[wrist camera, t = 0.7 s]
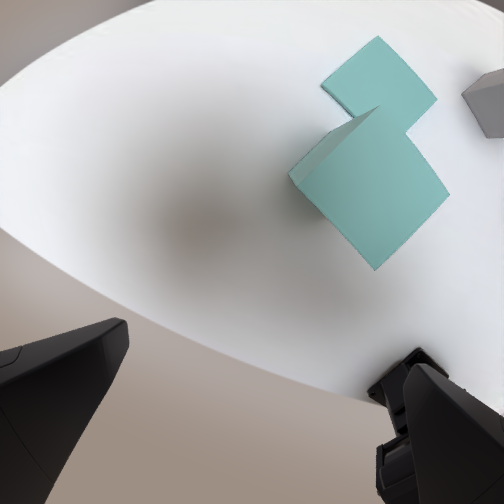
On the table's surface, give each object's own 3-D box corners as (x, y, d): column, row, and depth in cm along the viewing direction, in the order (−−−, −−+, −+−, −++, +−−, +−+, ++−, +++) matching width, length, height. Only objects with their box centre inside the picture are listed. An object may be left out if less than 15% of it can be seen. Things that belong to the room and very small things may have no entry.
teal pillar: (371, 175, 18) (449, 194, 8) (330, 216, 19) (374, 270, 10) (330, 131, 17) (380, 105, 8) (287, 173, 19) (296, 186, 9)
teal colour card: (433, 100, 16) (437, 99, 15) (384, 151, 17) (387, 150, 17) (375, 38, 15) (378, 35, 14) (320, 85, 16) (322, 83, 16)
